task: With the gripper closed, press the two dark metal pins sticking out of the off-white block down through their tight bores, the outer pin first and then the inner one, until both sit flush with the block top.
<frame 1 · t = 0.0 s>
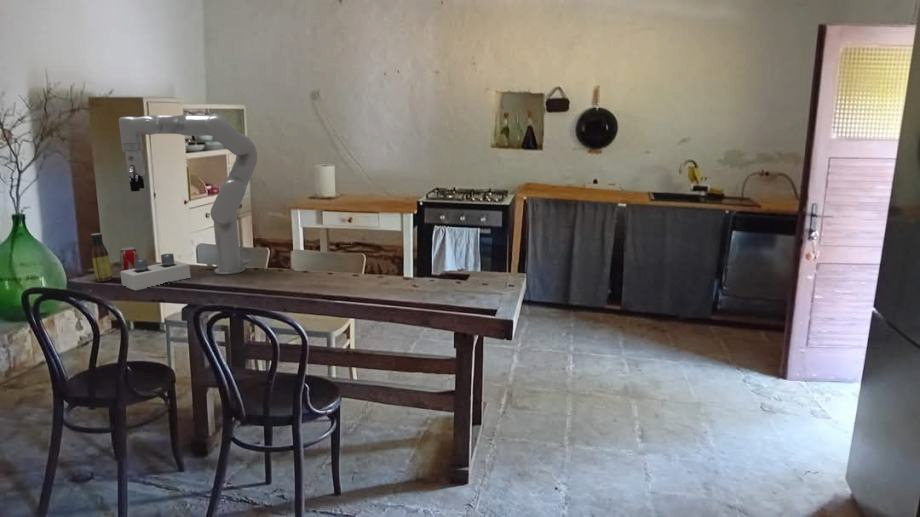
hand: (137, 189, 274), 37 cm above the table, tool pointing down, fingers open, 9 cm apart
inner pin: (167, 261, 277), point 8 cm above the table, slide at 4.5 cm
outer pin: (141, 266, 269), point 8 cm above the table, slide at 4.5 cm
sauce bottle: (104, 280, 279), on the table
soda can: (131, 275, 286), on the table
pin block: (157, 282, 274), on the table
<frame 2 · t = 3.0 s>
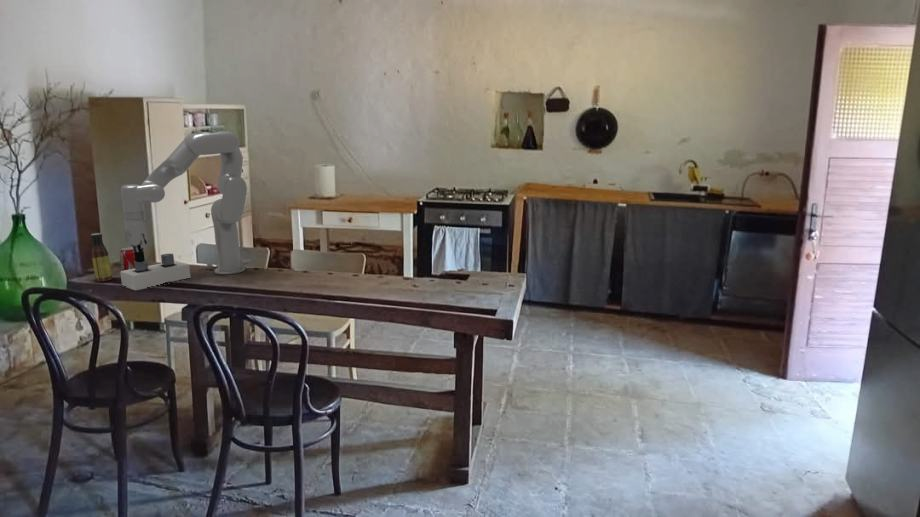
hand: (139, 261, 268), 10 cm above the table, tool pointing down, fingers closed
outer pin: (141, 267, 269), point 7 cm above the table, slide at 3.9 cm, touching gripper
everything else where it was.
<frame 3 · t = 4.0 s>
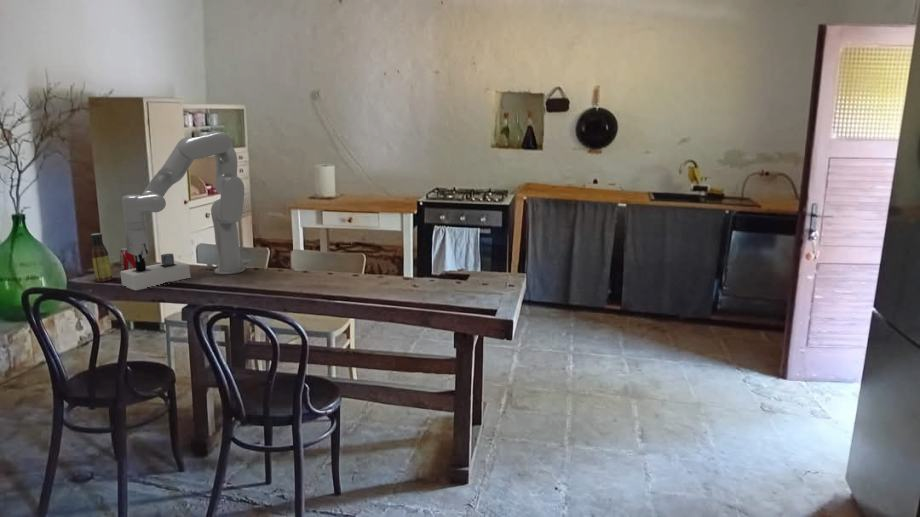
hand: (141, 270, 269), 6 cm above the table, tool pointing down, fingers closed
outer pin: (142, 277, 270), point 3 cm above the table, slide at 0.0 cm, touching gripper
everything else where it was.
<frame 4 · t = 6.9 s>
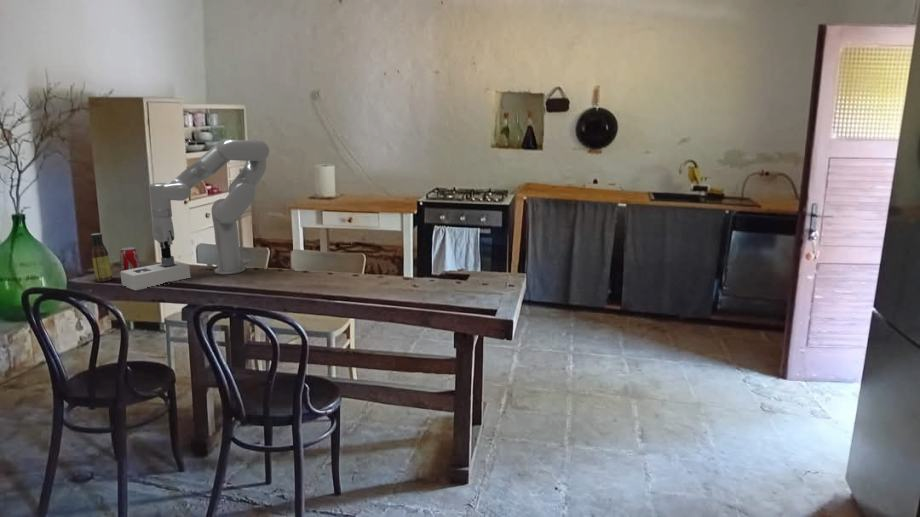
hand: (166, 257, 276), 10 cm above the table, tool pointing down, fingers closed
inner pin: (168, 263, 277), point 7 cm above the table, slide at 3.5 cm, touching gripper
outer pin: (142, 277, 270), point 3 cm above the table, slide at 0.0 cm
everything else where it was.
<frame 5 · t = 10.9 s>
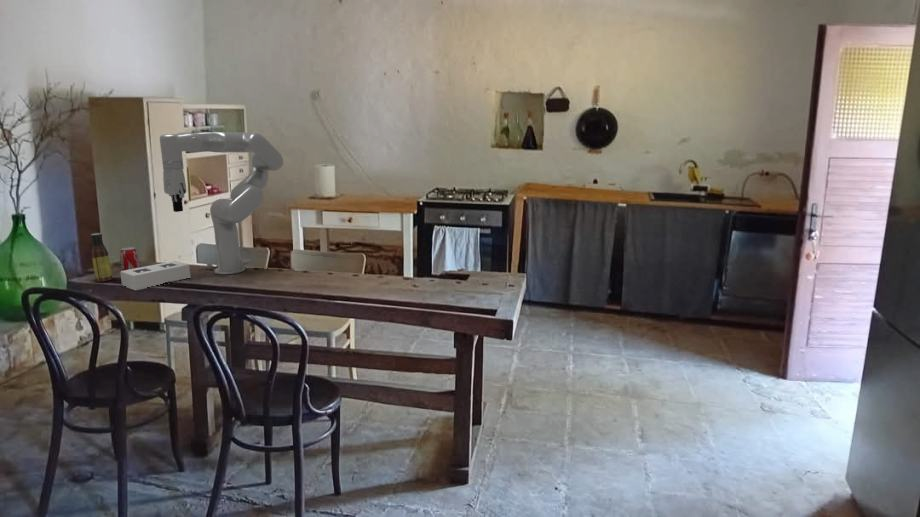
hand: (178, 211, 269), 29 cm above the table, tool pointing down, fingers closed
inner pin: (169, 271, 278), point 3 cm above the table, slide at 0.0 cm
everything else where it was.
at the end: outer pin slide at 0.0 cm; inner pin slide at 0.0 cm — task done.
